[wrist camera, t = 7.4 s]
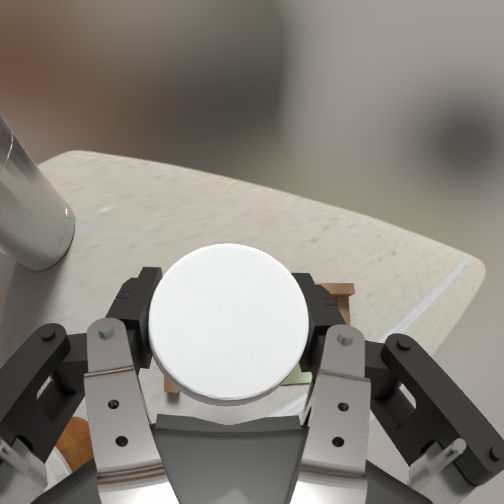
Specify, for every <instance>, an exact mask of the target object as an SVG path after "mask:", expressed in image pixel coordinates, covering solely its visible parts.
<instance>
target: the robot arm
mask: <svg viewBox="0 0 504 504" xmlns="http://www.w3.org/2000/svg"><path fill="white" fill-rule="evenodd" d="M74 227H75V224H74V216H73V212H72V210H71V208H70V207H69V206H68V204H67V203H66V202H65V201H64V200H63V198H62V197H61V196H60V195H59V194H58V192H57V191H56V190H55V188H54V187H53V186H52V185H51V183H50V182H49V181H48V180H47V178H46V177H45V176H44V175H43V173H42V172H41V171H40V169H39V168H38V167H37V165H36V164H35V163H34V162H33V160H32V159H31V158H30V156H29V155H28V154H27V152H26V151H25V149H24V148H23V146H22V145H21V144H20V142H19V141H18V139H17V138H16V136H15V135H14V134H13V132H12V131H11V129H10V128H9V126H8V125H7V123H6V122H5V120H4V119H3V117H2V116H1V114H0V251H1V252H2V253H4V254H6V255H7V256H9V257H10V258H12V259H13V260H15V261H17V262H18V263H20V264H22V265H23V266H25V267H27V268H29V269H31V270H36V271H40V270H45V269H47V268H50V267H51V266H53V265H54V264H56V263H57V262H58V261H59V260H60V259H61V258H62V257H63V255H64V254H65V252H66V251H67V249H68V247H69V245H70V243H71V240H72V237H73V234H74ZM291 275H292V276H293V277H294V279H295V280H296V282H297V283H298V285H299V287H300V289H301V291H302V293H303V296H304V298H305V302H306V305H307V311H308V320H309V329H308V337H307V342H306V345H305V348H304V351H303V354H302V356H301V358H300V360H299V365H300V369H301V373H303V372H311V374H312V379H311V382H310V385H309V389H308V393H307V398H306V402H305V405H304V409H303V413H302V417H301V421H300V420H299V416H298V415H297V416H284V417H266V418H261V419H257V420H253V421H249V422H244V423H240V424H235V425H222V424H218V423H214V422H210V421H206V420H202V419H198V418H194V417H187V416H174V415H164V414H157V420H156V423H154V424H152V422H151V419H150V416H149V413H148V409H147V406H146V403H145V399H144V396H143V392H142V389H141V385H140V381H139V378H138V375H139V371H140V368H146V369H149V367H150V363H151V359H152V355H153V354H152V351H151V347H150V343H149V335H148V323H149V311H150V305H151V301H152V298H153V295H154V292H155V290H156V288H157V286H158V284H159V282H160V280H161V279H162V270H161V268H159V267H143V268H142V270H141V272H140V274H139V276H138V278H130V279H129V280H128V281H126V282H125V283H124V284H123V285H122V287H121V289H120V291H119V293H118V294H117V296H116V299H115V300H114V302H113V304H112V306H111V307H110V309H109V311H108V313H107V315H106V317H105V318H102V319H99V320H97V321H95V322H93V323H92V324H91V325H90V326H89V328H88V330H87V333H82V334H73V335H67V333H66V330H65V328H64V327H63V326H62V325H60V324H56V323H50V324H45V325H43V326H41V327H39V328H38V329H37V330H36V331H35V332H34V333H33V334H32V335H31V336H30V337H29V338H28V339H27V340H26V341H25V342H24V344H23V345H22V346H21V347H20V348H19V349H18V350H17V351H16V352H15V353H14V355H13V356H12V357H11V358H10V359H9V360H8V361H7V363H6V364H5V365H4V366H3V367H2V368H1V370H0V504H459V503H460V502H461V501H462V500H464V499H465V498H466V497H467V496H468V495H469V494H470V493H471V492H473V491H475V490H476V489H478V488H479V487H480V486H482V485H483V484H485V483H486V482H488V481H489V480H490V479H492V478H493V477H494V476H496V475H497V474H498V473H500V472H501V471H502V470H504V440H503V439H502V437H501V436H500V435H499V434H498V432H497V431H496V430H495V429H494V428H493V426H492V425H491V424H490V423H489V422H488V420H487V419H486V418H485V417H484V416H483V414H482V413H481V412H480V411H479V410H478V409H477V407H476V406H475V405H474V404H473V403H472V402H471V401H470V399H469V398H468V397H467V396H466V395H465V394H464V393H463V391H462V390H461V389H459V387H458V386H457V385H456V384H455V383H454V382H453V381H452V379H451V378H450V377H449V376H448V375H447V374H446V373H445V372H444V371H443V369H442V368H441V367H440V366H439V365H438V364H437V363H436V362H435V361H434V360H433V359H432V358H431V357H430V356H429V355H428V353H427V352H426V351H425V350H424V349H423V348H422V347H421V346H420V345H419V344H418V343H417V342H416V341H415V340H414V339H412V338H411V337H409V336H407V335H404V334H399V333H396V334H392V335H390V336H388V337H387V339H386V341H385V344H384V343H377V342H370V341H366V340H365V338H364V336H363V334H362V333H361V332H360V331H359V330H358V329H356V328H354V327H352V326H349V325H347V324H346V322H345V320H344V318H343V317H342V315H341V313H340V311H339V309H338V307H337V306H336V303H335V302H334V300H333V298H332V296H331V294H330V292H329V291H328V290H327V289H326V288H324V287H323V286H322V285H315V283H314V281H313V279H312V277H311V275H310V274H309V273H292V274H291ZM49 376H50V378H51V381H50V383H49V384H48V385H47V387H46V388H45V389H44V391H43V392H42V394H41V395H40V396H39V398H38V399H36V398H37V393H38V391H39V389H40V388H41V386H42V385H43V384H44V382H45V381H46V380H47V378H48V377H49ZM402 383H403V384H404V386H405V387H406V388H407V389H408V391H409V392H410V393H411V394H412V396H413V397H414V398H415V400H416V409H415V408H414V407H413V406H412V404H411V403H410V402H409V400H408V399H407V398H406V397H405V395H404V394H403V393H402V392H401V390H400V389H399V387H400V386H401V384H402ZM84 396H85V398H86V407H87V415H88V423H89V430H90V436H91V442H92V447H93V453H94V457H93V458H92V459H90V460H89V461H88V462H86V463H85V464H84V465H82V466H81V467H80V468H78V469H77V470H75V471H74V472H73V473H71V474H70V475H68V476H67V477H66V478H64V479H63V480H61V481H60V482H59V483H57V484H56V485H54V486H53V487H51V488H50V489H48V490H47V491H45V488H46V487H47V486H48V479H47V470H46V467H45V463H46V461H47V459H48V457H49V456H50V454H51V452H52V450H53V448H54V447H55V445H56V443H57V441H58V440H59V438H60V436H61V434H62V433H63V431H64V429H65V428H66V426H67V424H68V423H69V421H70V419H71V418H72V416H73V414H74V413H75V411H76V409H77V408H78V406H79V404H80V403H81V401H82V400H83V398H84ZM370 409H371V411H372V412H373V414H374V415H375V417H376V418H377V420H378V421H379V422H380V424H381V426H382V427H383V429H384V430H385V432H386V433H387V434H388V436H389V437H390V439H391V440H392V442H393V443H394V445H395V446H396V448H397V449H398V451H399V452H400V454H401V455H402V457H403V458H404V460H405V461H406V463H407V464H408V466H409V467H410V468H409V479H408V481H407V485H408V486H407V485H405V484H404V483H402V482H401V481H399V480H397V479H396V478H394V477H392V476H391V475H389V474H388V473H386V472H384V471H383V470H382V469H380V468H378V467H377V466H375V465H374V464H372V463H371V462H370V461H368V460H367V459H366V455H367V444H368V432H369V417H370Z"/></svg>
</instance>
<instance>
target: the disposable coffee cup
mask: <svg viewBox="0 0 504 504" xmlns="http://www.w3.org/2000/svg"><path fill="white" fill-rule="evenodd" d="M93 457H94V453H93V447H92V442H91V436H90V430H89V423H88V422H87V421H85V420H84V419H81V418H78V417H72V418H71V419H70V421H69V423H68V424H67V426H66V428H65V429H64V431H63V433H62V434H61V436H60V438H59V440H58V441H57V443H56V445H55V447H54V448H53V450H52V452H51V454H50V456H49V457H48V459H47V461H46V463H45V467H46V470H47V479H48V486H47V487H46V488H45V491H47V490H48V489H50V488H51V487H53V486H54V485H56V484H57V483H59V482H60V481H61V480H63V479H64V478H66V477H67V476H68V475H70V474H71V473H73V472H74V471H75V470H77V469H78V468H80V467H81V466H82V465H84V464H85V463H86V462H88V461H89V460H90V459H92V458H93Z"/></svg>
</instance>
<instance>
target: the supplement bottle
mask: <svg viewBox="0 0 504 504" xmlns="http://www.w3.org/2000/svg"><path fill="white" fill-rule="evenodd" d="M308 329H309V320H308V311H307V305H306V302H305V298H304V296H303V293H302V291H301V289H300V287H299V285H298V283H297V282H296V280H295V279H294V277H293V276H292V275H291V274H290V272H289V271H288V270H287V269H286V268H285V267H284V266H283V265H282V264H281V263H279V262H278V261H277V260H276V259H274V258H273V257H271V256H270V255H268V254H266V253H264V252H262V251H259V250H257V249H254V248H252V247H248V246H244V245H238V244H218V245H212V246H207V247H203V248H200V249H198V250H195V251H193V252H191V253H189V254H187V255H186V256H184V257H183V258H181V259H180V260H179V261H178V262H176V263H175V264H174V265H173V266H172V267H171V268H170V269H169V270H168V271H167V272H166V273H165V275H164V276H163V278H162V279H161V280H160V282H159V284H158V286H157V288H156V290H155V292H154V295H153V298H152V301H151V305H150V311H149V323H148V335H149V343H150V347H151V351H152V354H153V357H154V359H155V361H156V363H157V365H158V367H159V369H160V370H161V372H162V373H163V374H164V376H165V377H166V378H167V379H168V380H169V381H170V382H171V383H172V384H173V385H174V386H175V387H176V388H177V389H178V390H180V391H181V392H182V393H184V394H186V395H187V396H189V397H191V398H193V399H195V400H198V401H200V402H203V403H206V404H211V405H216V406H238V405H244V404H248V403H251V402H254V401H257V400H259V399H261V398H263V397H265V396H267V395H269V394H270V393H272V392H273V391H274V390H275V389H277V388H278V387H279V386H280V385H281V384H282V383H283V382H284V381H285V380H286V379H287V377H288V376H289V375H290V374H291V372H292V371H293V369H294V368H295V366H296V365H297V363H298V362H299V360H300V358H301V356H302V354H303V351H304V348H305V345H306V342H307V337H308Z"/></svg>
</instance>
